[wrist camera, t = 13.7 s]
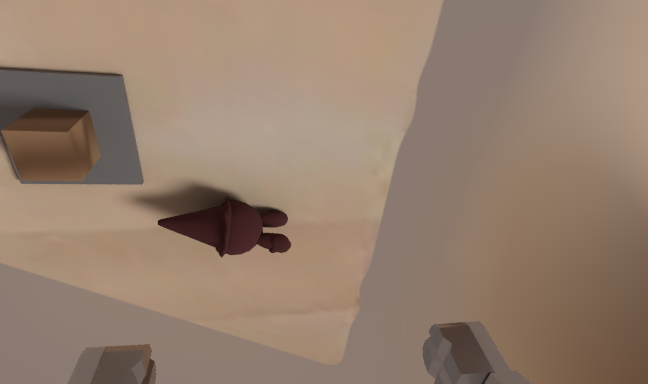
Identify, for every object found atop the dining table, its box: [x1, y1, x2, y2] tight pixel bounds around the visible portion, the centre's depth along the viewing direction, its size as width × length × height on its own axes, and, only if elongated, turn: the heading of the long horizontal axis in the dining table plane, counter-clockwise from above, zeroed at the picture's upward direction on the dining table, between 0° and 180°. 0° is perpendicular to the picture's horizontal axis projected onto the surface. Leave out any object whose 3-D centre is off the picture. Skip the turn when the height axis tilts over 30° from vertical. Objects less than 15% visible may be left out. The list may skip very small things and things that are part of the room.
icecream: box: [158, 197, 291, 257], centre depth 43 cm, size 7×7×15 cm
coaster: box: [0, 68, 144, 184], centre depth 37 cm, size 12×12×1 cm
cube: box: [1, 109, 101, 181], centre depth 34 cm, size 5×5×5 cm
